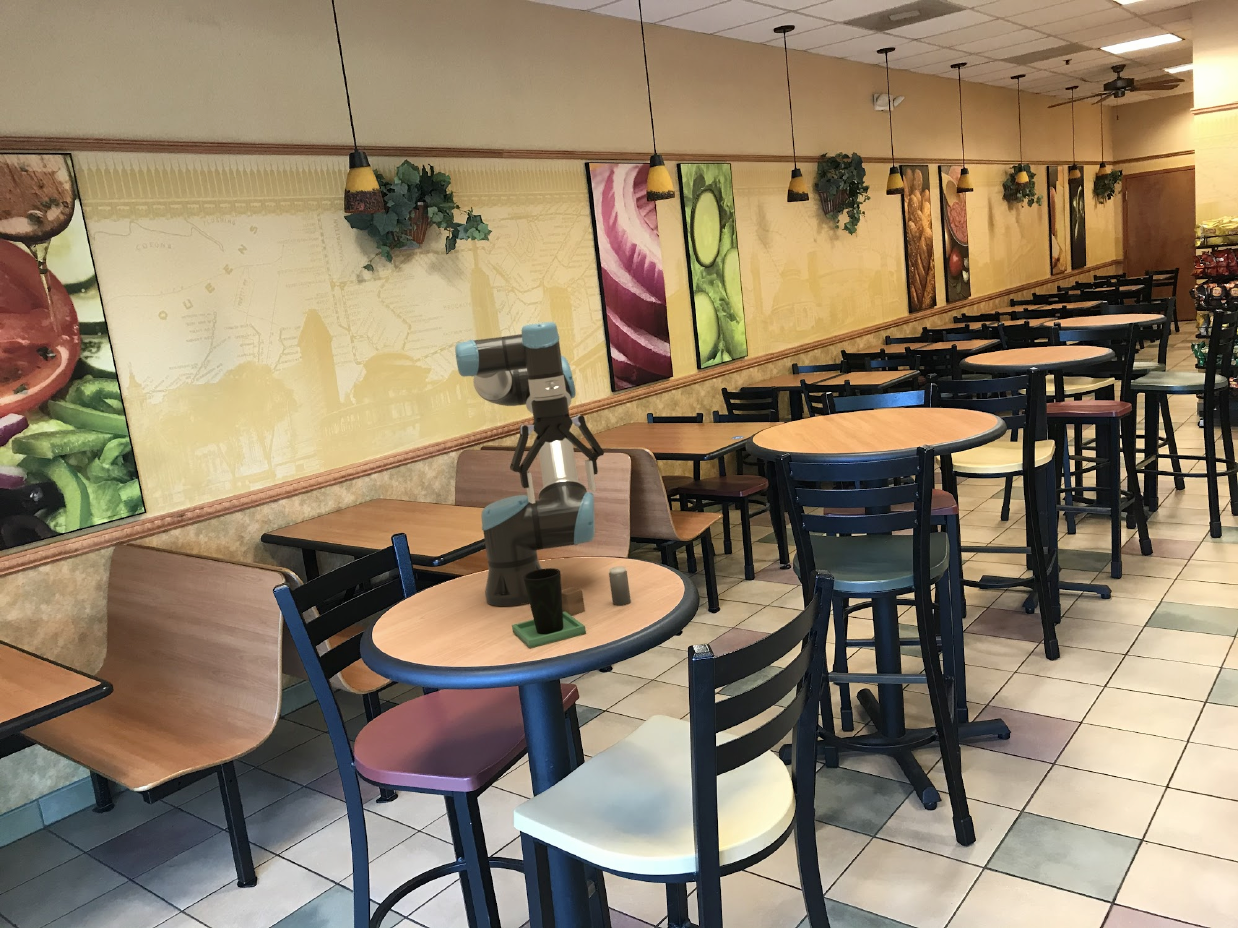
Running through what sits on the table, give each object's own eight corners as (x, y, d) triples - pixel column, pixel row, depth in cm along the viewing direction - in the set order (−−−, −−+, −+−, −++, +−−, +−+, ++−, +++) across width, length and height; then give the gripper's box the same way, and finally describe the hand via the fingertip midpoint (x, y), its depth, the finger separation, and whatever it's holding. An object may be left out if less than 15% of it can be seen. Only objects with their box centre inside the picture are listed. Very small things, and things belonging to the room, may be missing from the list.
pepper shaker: (610, 602, 208) (605, 568, 206) (626, 598, 209) (622, 565, 208) (617, 607, 204) (612, 572, 203) (633, 602, 205) (629, 568, 204)
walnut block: (559, 613, 205) (556, 591, 204) (574, 608, 207) (571, 586, 206) (570, 617, 201) (566, 594, 201) (585, 611, 204) (582, 589, 203)
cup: (562, 635, 188) (554, 578, 186) (527, 637, 190) (518, 580, 188) (572, 621, 196) (564, 566, 194) (537, 623, 197) (529, 569, 195)
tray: (512, 632, 196) (511, 624, 196) (566, 618, 201) (565, 611, 200) (529, 648, 185) (528, 640, 185) (586, 633, 190) (585, 625, 189)
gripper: (495, 408, 188) (510, 510, 191) (610, 389, 196) (623, 487, 200) (486, 405, 194) (501, 504, 198) (598, 387, 203) (610, 482, 207)
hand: (562, 496), depth 199 cm, fingers open, 13 cm apart
